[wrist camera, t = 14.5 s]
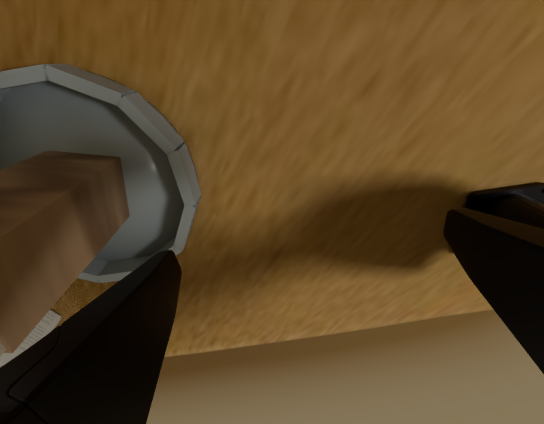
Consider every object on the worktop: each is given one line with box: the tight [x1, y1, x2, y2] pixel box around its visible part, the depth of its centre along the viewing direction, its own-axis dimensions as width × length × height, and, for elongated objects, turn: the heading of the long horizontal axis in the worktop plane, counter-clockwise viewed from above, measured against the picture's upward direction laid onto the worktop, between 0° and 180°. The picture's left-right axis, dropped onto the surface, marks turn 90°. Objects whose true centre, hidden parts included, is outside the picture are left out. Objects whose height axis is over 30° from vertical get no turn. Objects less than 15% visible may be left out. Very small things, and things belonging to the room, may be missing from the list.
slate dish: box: [0, 64, 201, 283], centre depth 20 cm, size 16×16×2 cm
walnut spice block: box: [0, 150, 130, 357], centre depth 15 cm, size 5×5×13 cm
